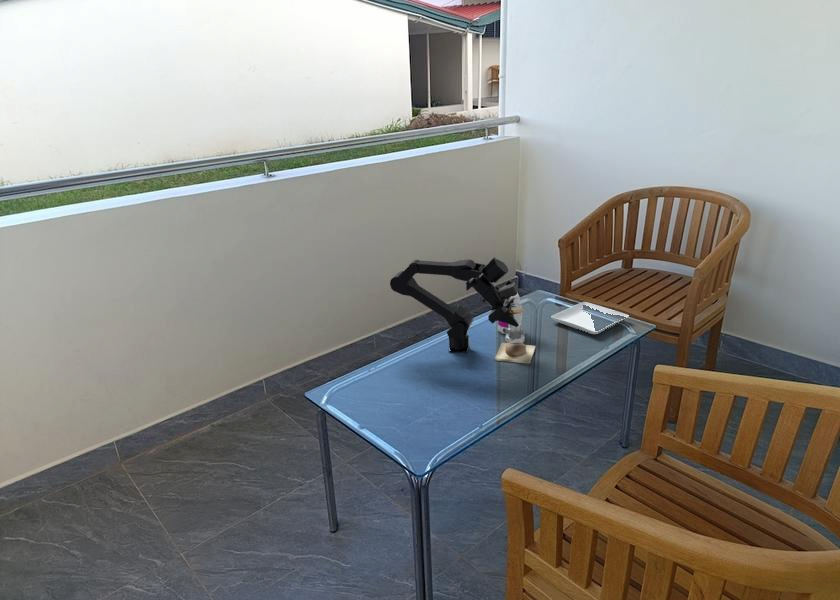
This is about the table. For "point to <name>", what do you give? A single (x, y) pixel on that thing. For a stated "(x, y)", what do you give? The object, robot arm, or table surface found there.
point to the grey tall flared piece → (514, 333)
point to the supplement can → (504, 326)
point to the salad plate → (584, 317)
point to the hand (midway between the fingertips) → (519, 323)
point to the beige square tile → (515, 353)
